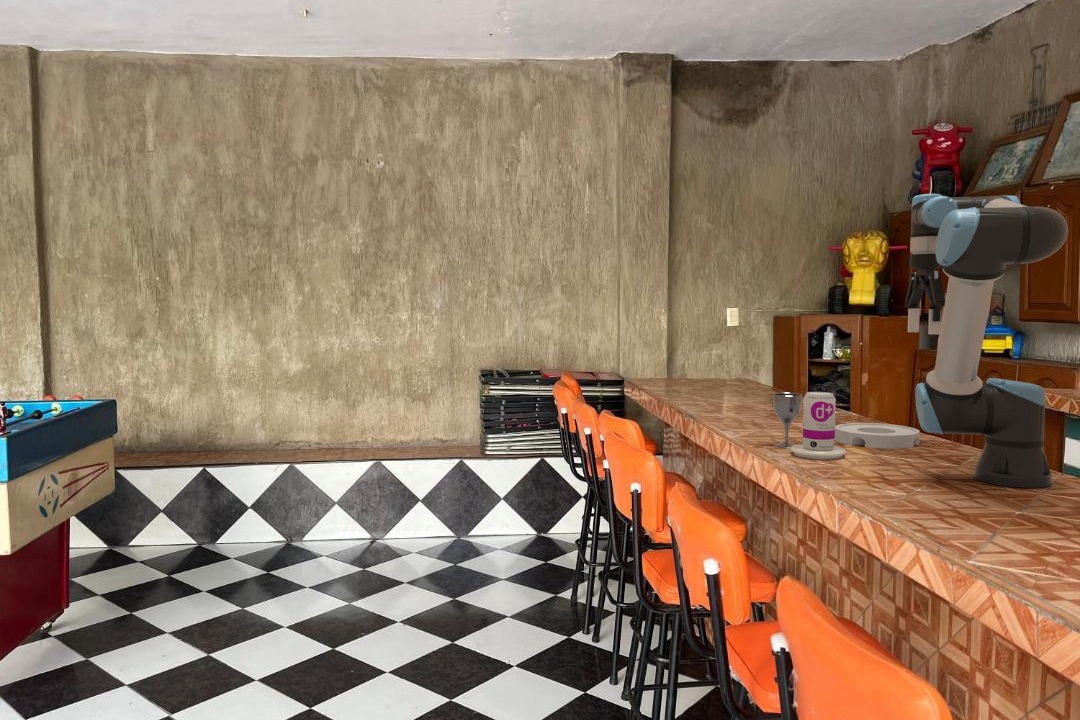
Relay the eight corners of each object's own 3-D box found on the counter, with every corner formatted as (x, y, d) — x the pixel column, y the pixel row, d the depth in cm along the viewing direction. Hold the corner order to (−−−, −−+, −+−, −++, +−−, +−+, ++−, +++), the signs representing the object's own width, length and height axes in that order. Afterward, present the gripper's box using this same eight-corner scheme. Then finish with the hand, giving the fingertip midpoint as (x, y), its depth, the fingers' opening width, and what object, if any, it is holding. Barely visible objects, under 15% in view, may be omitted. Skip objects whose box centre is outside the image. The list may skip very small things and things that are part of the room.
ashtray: (934, 449, 223) (934, 435, 222) (851, 449, 223) (851, 435, 223) (898, 435, 246) (899, 422, 246) (823, 435, 246) (823, 423, 246)
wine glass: (797, 443, 232) (798, 392, 230) (803, 448, 224) (804, 395, 223) (769, 443, 232) (770, 392, 231) (775, 448, 224) (775, 395, 223)
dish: (852, 460, 207) (852, 453, 207) (797, 460, 208) (798, 453, 208) (836, 450, 221) (836, 444, 221) (785, 450, 222) (785, 443, 222)
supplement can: (837, 451, 209) (838, 395, 208) (804, 450, 211) (805, 394, 210) (831, 446, 217) (833, 391, 216) (800, 445, 219) (801, 391, 218)
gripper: (962, 250, 199) (959, 335, 200) (921, 256, 223) (918, 331, 225) (931, 250, 199) (928, 335, 201) (893, 256, 224) (891, 331, 225)
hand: (923, 333), depth 213 cm, fingers open, 13 cm apart
